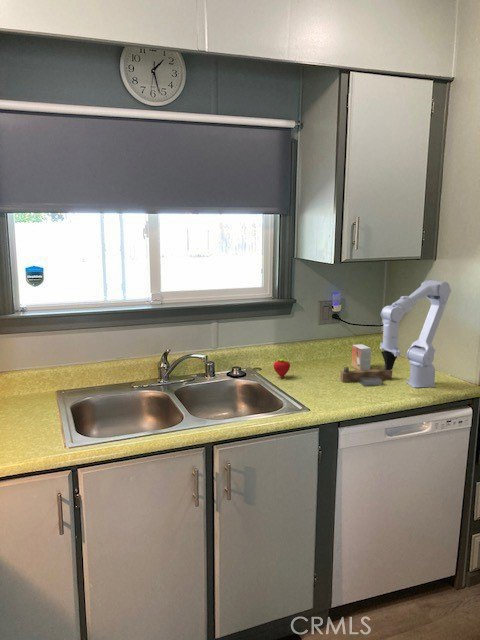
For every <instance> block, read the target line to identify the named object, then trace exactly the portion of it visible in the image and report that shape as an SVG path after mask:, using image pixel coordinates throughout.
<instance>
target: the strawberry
mask: <svg viewBox="0 0 480 640" xmlns="http://www.w3.org/2000/svg"><path fill="white" fill-rule="evenodd" d="M281 356H282V358H280V359H276V361H275V362H274V363H273V367H272V368H273V369H274V371H275V372H276V374H277V375H278V376H279V378H284V377H285V376H286V374H287V373H288V372H289V371H290V368H291V364H290V362H289V361H288V360H287V359H286V358H284V356H283V355H281Z"/></svg>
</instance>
